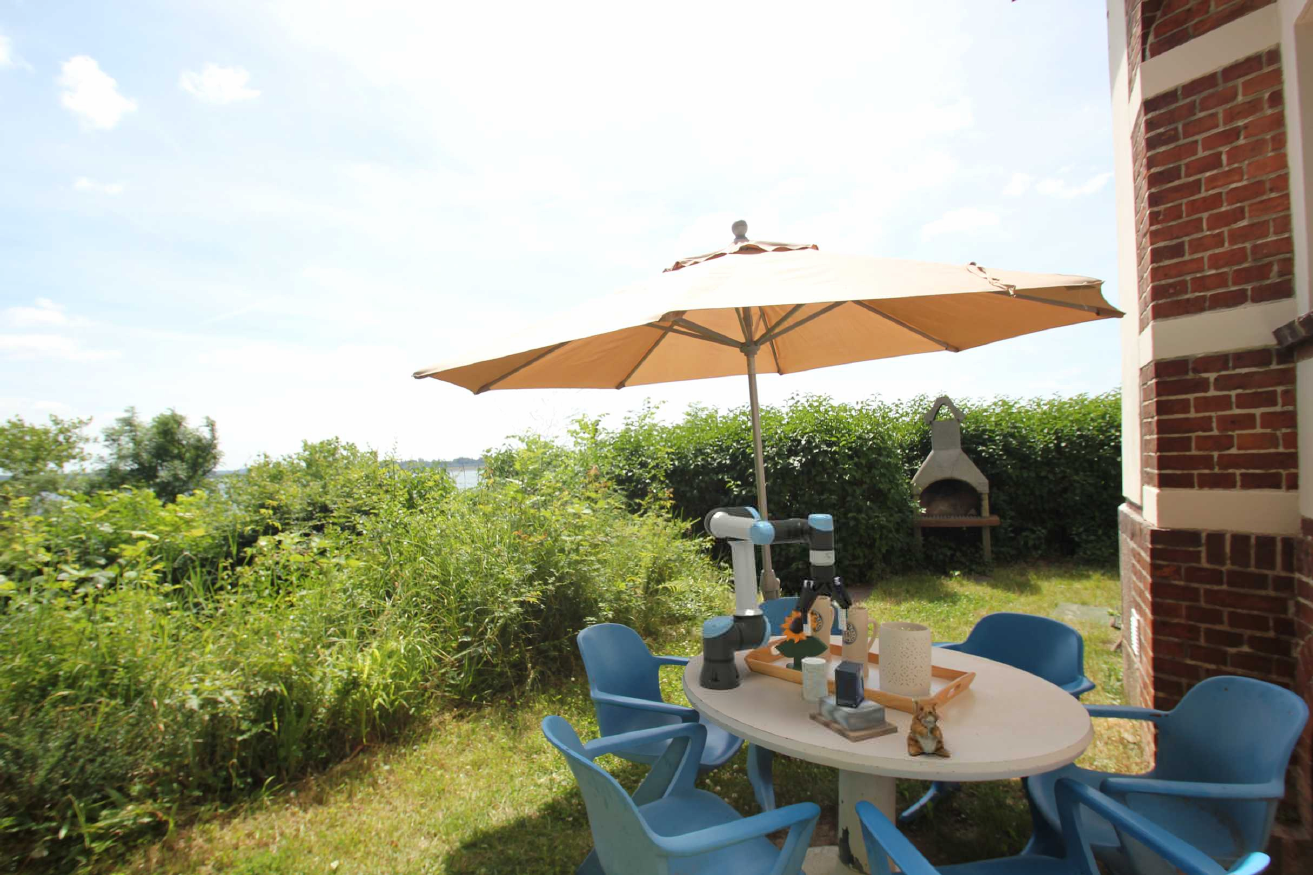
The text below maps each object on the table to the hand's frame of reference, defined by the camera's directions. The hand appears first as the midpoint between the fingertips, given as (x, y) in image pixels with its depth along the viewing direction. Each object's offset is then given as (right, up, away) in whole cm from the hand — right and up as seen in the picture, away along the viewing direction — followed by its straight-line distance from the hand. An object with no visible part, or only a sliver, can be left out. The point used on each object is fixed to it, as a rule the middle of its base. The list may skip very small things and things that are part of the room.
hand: (825, 632), depth 181 cm
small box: (+6, -19, -7) cm, 21 cm away
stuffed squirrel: (+20, -23, -25) cm, 39 cm away
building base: (+6, -25, -8) cm, 27 cm away
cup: (+1, -28, +16) cm, 32 cm away
